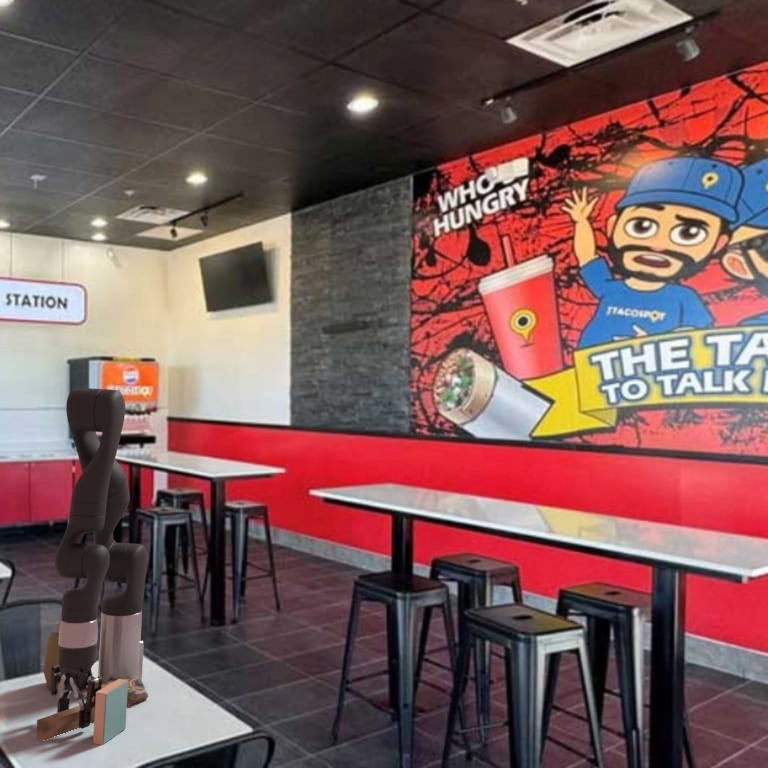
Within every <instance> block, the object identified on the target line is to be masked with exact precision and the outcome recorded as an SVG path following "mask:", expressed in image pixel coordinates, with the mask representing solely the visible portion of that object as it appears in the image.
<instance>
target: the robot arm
mask: <svg viewBox="0 0 768 768" xmlns="http://www.w3.org/2000/svg"><path fill="white" fill-rule="evenodd" d="M65 408H66V418H67V423H68V427H69V430H70V434H71V436H72V439H73V443H74V446H75V450H76V453H77V456H78V459H79V465H80V470H81V474H80V475H79V477H78V479H77V480H76V483H75V484H74V485H73V489H72V492H71V499H70V500H71V501H70V507H69V508H70V509H69V517H68V518H69V519H68V522H67V527H66V529H65V533H63V538H62V540H61V543H60V544H59V546H58V547H59V548H58V550H57V552H56V555H55V558H54V567H55V570H56V572H57V574H58V575H59V576H61V577H62V578H70V579H85V580H86V583H85V585H84V586H82V587H76V588H72V589H69V590H67V591H65V592H64V593H63V595H62V600H61V614H60V617H61V624H60V629H59V643H58V658H57V664H58V665H55V666H52V667H51V688H50V695H51V696H55V699H56V701H57V711H56V713H59V712H62V711H65V710H68V709H70V698H69V697H70V696H71V693H73V694H74V695H73V696H74V699H75V700H77V701H78V706H80V709H81V710H80V711H79V729H82V730H83V729H85V728H88V727H89V726H90V725H91V724H90V723H91V710H92V708H94V707H95V702H96V692H97V691H99V690H101V686H102V682H105V681H114V680H118V679H131V678H140V679H142V680H143V665H144V663H143V662H144V646H145V645H144V643H145V642H144V640H141V639H142V636H141V635H142V621H143V617H142V616H143V605H144V597H145V585H146V577H147V576H146V575H147V574H146V573H147V567H148V551H147V548H146V546H145V545H143V544H141V543H128V542H126V543H125V542H116V540H115V539H114V531H115V529H116V526H117V525H118V524H119V522H120V521H121V519H122V517H123V516H124V515H125V513H126V511H127V509H128V507H129V505H130V500H131V499H130V498H131V497H130V496H131V495H130V489H129V483H128V477H127V474H126V472H125V470H124V468H123V467H122V466H121V464H120V463H119V462H118V461H117V459H116V456H117V452H118V448H119V444H120V440H121V435H122V432H123V426H124V423H125V417H126V416H125V415H126V401H125V397H124V395H123V393H122V392H121V391H120V390H118V389H109V388H91V387H90V388H88V387H87V388H86V387H85V388H84V387H83V388H82V387H81V388H79V387H78V388H75V389H73V390H71V391H70V392H69V394H68V396H67V398H66V407H65ZM97 433H101V439H100V440H99V437H98V435H97ZM90 533H92V534H93V541H94V543H83V542H82V543H80V541H81V539H82V538H83V537H84V535H86V534H90ZM104 582H107V583H118V584H119V583H121V584H126V587H125V590H124V591H122V592H119V593H117V594H113V595H110V596H107V597H106V598H103V600H102V603H101V615H100V631H99V628H98V627H99V626H98V615H99V613H98V612H99V601H100V600H99V599H100V594H101V591H102V587H103V583H104ZM99 632H100V633H99ZM99 635H100V637H98V636H99ZM98 639H99V650H98ZM97 650H98V651H99V652H98V655H97ZM97 656H98V665H97V666H98V668H97V677H95V676H93V672H92V668H93V665H94V664H95V663H96V662H97ZM58 682H59V686H58V688H56V684H57V683H58ZM84 691H86V692H84ZM82 692H83V693H82ZM84 698H86V699H84ZM93 698H94V699H93Z"/></svg>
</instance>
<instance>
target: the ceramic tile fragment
mask: <svg viewBox="0 0 768 768" xmlns="http://www.w3.org/2000/svg"><path fill="white" fill-rule="evenodd" d="M124 680H128V692H127V704H130V705H134V704H136V702H137V703H139V702H142V701H145V700H147V699H148V698H149V693H147V691H146V686H145V684H144V682H143V678H142V679H140V678H131V679H124ZM114 681H116V680H114ZM114 681H105V682H102V686H101V689H102V688H104V687H106V686H107V685H109V684H111V683H113V682H114ZM141 700H142V701H141ZM138 701H139V702H138Z"/></svg>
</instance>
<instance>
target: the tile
mask: <svg viewBox="0 0 768 768" xmlns="http://www.w3.org/2000/svg"><path fill="white" fill-rule="evenodd" d="M127 692H128V680H124V679H118V680H116V681H114V682H113V683H111V684H109V685H107V686H106V687H104V688H102V689H101V690H99V691H97V692H96V702H95V719H94V723H93V738H92V739H93V740H92V744H93V743H96V744H95V745H99V744H101V746H102V745H104V744H106V743H107V742H108V741H110V740H111V739H113V738H115V736H117V735H118V734H119V733H121V732H122V731H124V730H126V727H127V726H126V724H127V707H128V705H127Z"/></svg>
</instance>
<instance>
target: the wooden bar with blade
mask: <svg viewBox="0 0 768 768" xmlns="http://www.w3.org/2000/svg"><path fill="white" fill-rule="evenodd" d="M80 710H81V709H80V706H79V705H77V706H74V707H71V708H70V707H69V709H68V710H65V711H62V712H59V713H57V712H56V713H53V714H51V715H47V716H45V717H42V718H39V719H37V720H36V732H35V733H36V735H35V738H36V739H37V738H38V740H40V739H41V740H40V741H42V740H47V739H49V738H52V737H54V736H57V735H60V734H63V733H65V734H67V733H66V732H68V731H71V730H73V731H75V730H74V729H76V730H78V729H77V728H79V711H80ZM94 719H95V707H94V708H92V710H91V723H92V724H94V723H93V722H94ZM79 729H80V728H79ZM71 732H72V731H71ZM68 733H69V732H68ZM63 735H64V734H63ZM60 736H61V735H60ZM57 737H58V736H57ZM52 739H53V738H52ZM49 740H50V739H49ZM47 741H48V740H47Z"/></svg>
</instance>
